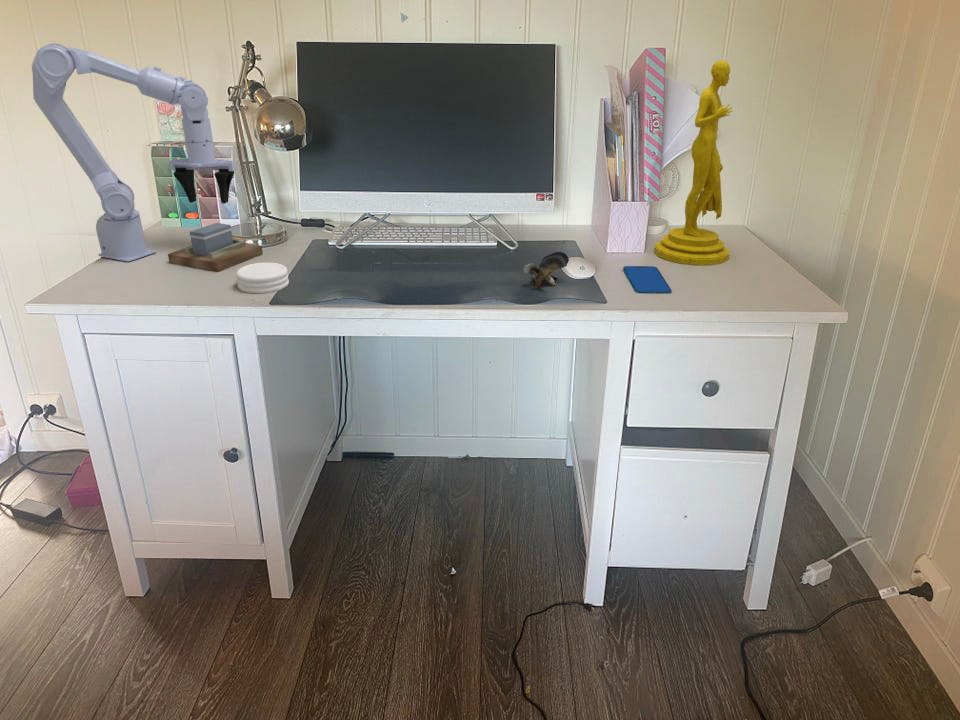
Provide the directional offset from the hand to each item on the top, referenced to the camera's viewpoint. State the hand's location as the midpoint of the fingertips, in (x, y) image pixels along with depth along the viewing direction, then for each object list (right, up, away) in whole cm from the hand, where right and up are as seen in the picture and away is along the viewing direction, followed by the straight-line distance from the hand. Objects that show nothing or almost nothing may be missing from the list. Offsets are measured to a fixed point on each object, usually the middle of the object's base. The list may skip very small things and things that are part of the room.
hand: (209, 202), depth 161 cm
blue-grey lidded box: (+3, -12, -5) cm, 13 cm away
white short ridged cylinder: (+18, -21, -19) cm, 34 cm away
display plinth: (+3, -13, -4) cm, 14 cm away
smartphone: (+97, -20, -15) cm, 100 cm away
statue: (+111, -12, +2) cm, 112 cm away
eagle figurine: (+76, -21, -17) cm, 80 cm away
